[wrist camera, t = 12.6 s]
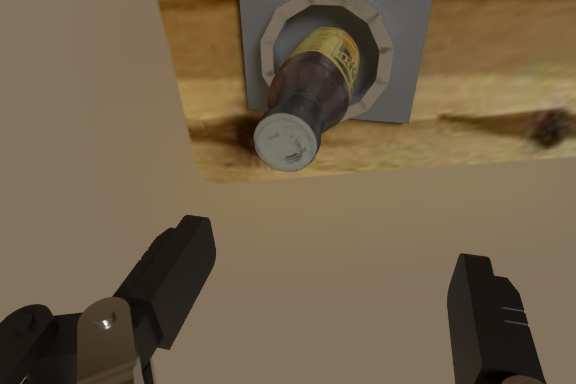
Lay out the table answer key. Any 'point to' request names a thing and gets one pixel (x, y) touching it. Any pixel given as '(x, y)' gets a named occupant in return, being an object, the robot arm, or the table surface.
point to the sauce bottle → (307, 98)
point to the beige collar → (361, 6)
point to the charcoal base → (402, 22)
